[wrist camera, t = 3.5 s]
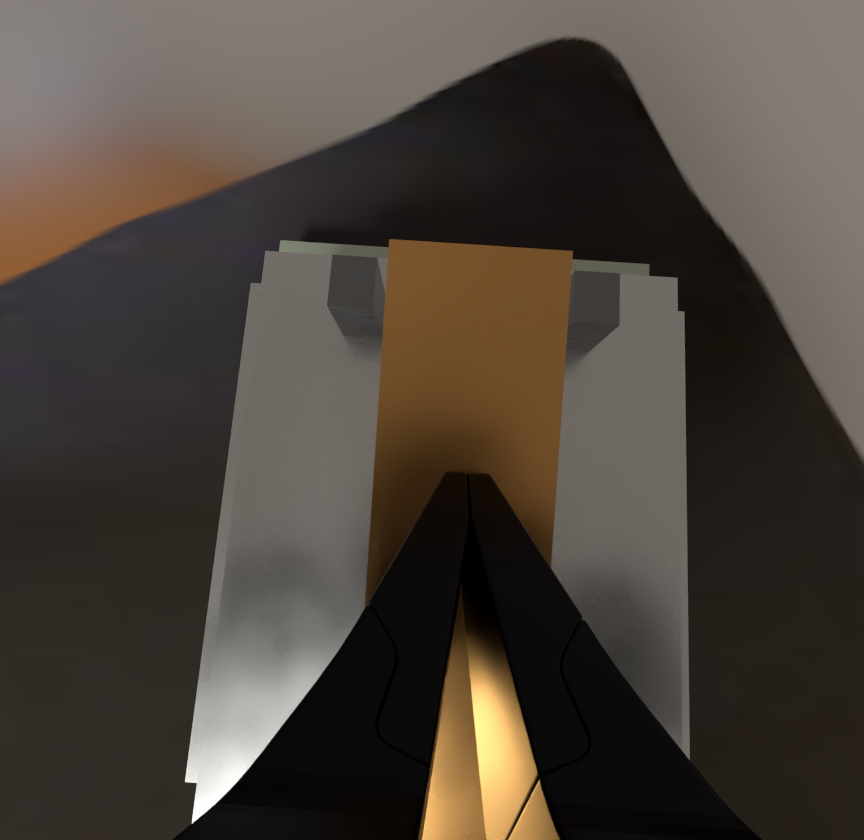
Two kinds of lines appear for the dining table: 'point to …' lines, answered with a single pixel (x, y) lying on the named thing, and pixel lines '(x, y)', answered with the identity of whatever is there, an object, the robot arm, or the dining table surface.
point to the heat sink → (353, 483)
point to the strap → (467, 435)
